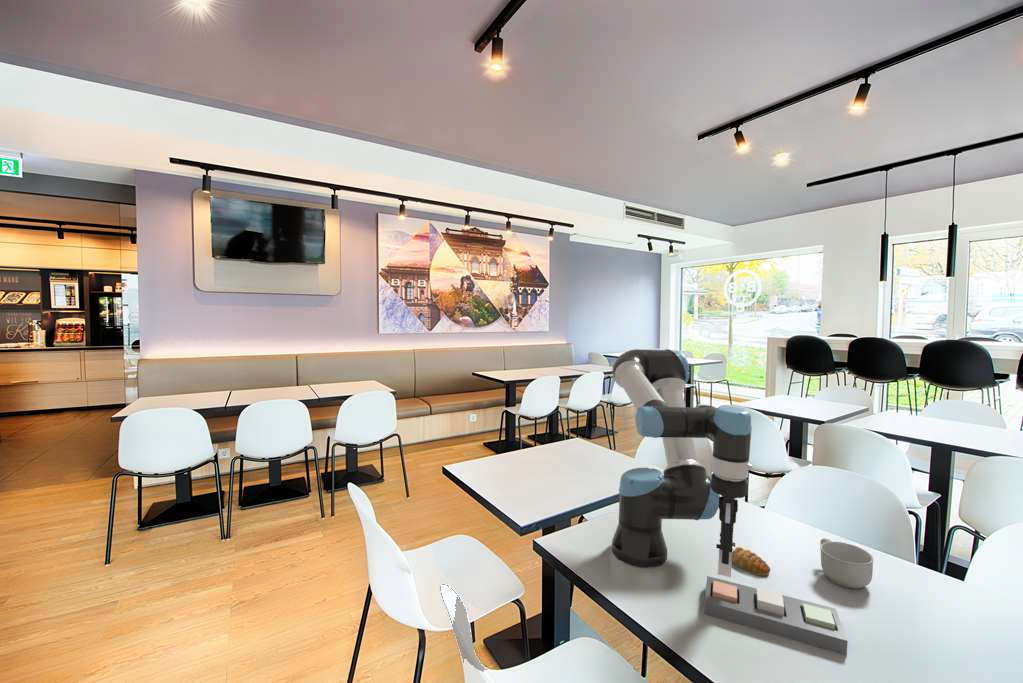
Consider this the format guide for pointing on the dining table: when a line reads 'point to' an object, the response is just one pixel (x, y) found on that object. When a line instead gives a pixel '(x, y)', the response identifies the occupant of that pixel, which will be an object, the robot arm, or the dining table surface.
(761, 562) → the pastry
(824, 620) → the sage key
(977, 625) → the dining table surface
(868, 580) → the teacup
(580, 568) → the dining table surface
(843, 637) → the keypad
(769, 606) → the cream key
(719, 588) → the terracotta key
